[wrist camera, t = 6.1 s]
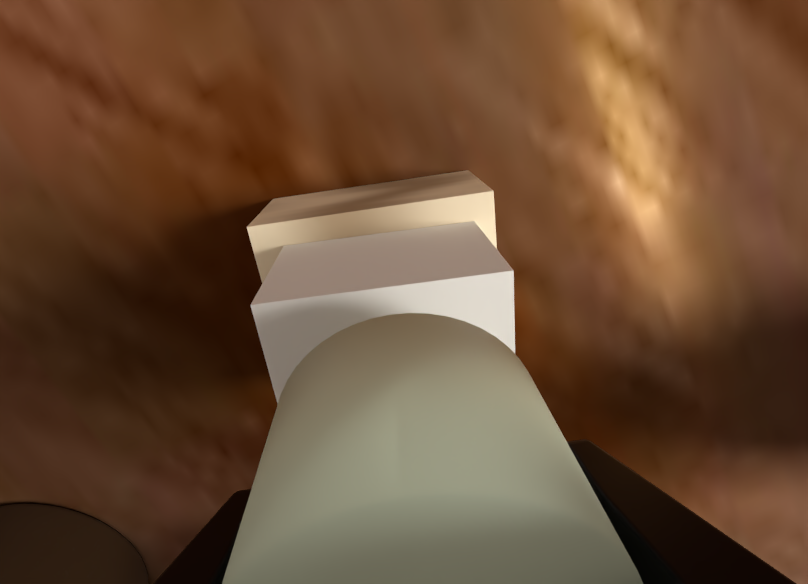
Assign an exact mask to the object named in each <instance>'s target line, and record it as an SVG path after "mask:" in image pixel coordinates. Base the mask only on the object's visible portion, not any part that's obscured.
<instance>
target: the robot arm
mask: <svg viewBox="0 0 808 584" xmlns="http://www.w3.org/2000/svg"><path fill="white" fill-rule="evenodd" d="M567 443H568V445H569V447H570V449H571V451H572V452H573V454H574V456H575V458H576V460H577V462H578V463H579V465H580V467H581V469H582V471H583V472H584V474H585V476H586V478H587V480H588V482H589V483H590V485H591V487H592V489H593V491H594V492H595V494H596V496H597V498H598V500H599V502H600V503H601V505H602V507H603V509H604V511H605V512H606V514H607V516H608V518H609V520H610V522H611V523H612V525H613V527H614V529H615V531H616V532H617V534H618V536H619V538H620V540H621V542H622V543H623V545H624V547H625V549H626V551H627V553H628V554H629V556H630V558H631V560H632V562H633V563H634V565H635V567H636V569H637V571H638V573H639V575H640V577H641V580H642V582H643V584H796V583H795V582H793V581H792V580H790V579H789V578H787V577H786V576H785V575H783V574H782V573H780V572H779V571H777V570H776V569H774V568H773V567H772V566H770V565H769V564H767V563H766V562H764V561H763V560H761V559H760V558H759V557H757V556H756V555H754V554H753V553H751V552H750V551H748V550H747V549H746V548H744V547H743V546H741V545H740V544H738V543H737V542H735V541H734V540H733V539H731V538H730V537H728V536H727V535H725V534H724V533H722V532H721V531H720V530H718V529H717V528H715V527H714V526H712V525H711V524H709V523H708V522H707V521H705V520H704V519H702V518H701V517H699V516H698V515H696V514H695V513H694V512H692V511H691V510H689V509H688V508H686V507H685V506H683V505H682V504H681V503H679V502H678V501H676V500H675V499H673V498H672V497H670V496H669V495H668V494H666V493H665V492H663V491H662V490H660V489H659V488H657V487H656V486H655V485H653V484H652V483H650V482H649V481H647V480H646V479H644V478H643V477H642V476H640V475H639V474H637V473H636V472H634V471H633V470H631V469H630V468H629V467H627V466H626V465H624V464H623V463H621V462H620V461H618V460H617V459H616V458H614V457H613V456H611V455H610V454H608V453H607V452H605V451H604V450H603V449H601V448H600V447H598V446H597V445H595V444H594V443H592V442H591V441H589V440H586V439H582V440H575V441H568V442H567ZM250 492H251V489H248V490H241V491H237V492H236V493H234V494H233V495H232V496H231V497H230V498H229V500H228V501H227V502H226V503H225V504H224V505H223V506H222V507H221V509H220V510H219V511H218V512H217V513H216V514H215V515H214V516H213V518H212V519H211V520H210V521H209V522H208V523H207V524H206V525H205V527H204V528H203V529H202V530H201V531H200V532H199V533H198V534H197V535H196V537H195V538H194V539H193V540H192V541H191V542H190V543H189V544H188V546H187V547H186V548H185V549H184V550H183V551H182V552H181V553H180V555H179V556H178V557H177V558H176V559H175V560H174V561H173V562H172V564H171V565H170V566H169V567H168V568H167V569H166V570H165V571H164V573H163V574H162V575H161V576H160V577H159V578H158V579H157V580H156V582H155V583H154V584H222V582H223V579H224V575H225V572H226V569H227V566H228V563H229V559H230V556H231V553H232V550H233V546H234V543H235V540H236V537H237V534H238V530H239V527H240V524H241V521H242V518H243V514H244V511H245V508H246V505H247V502H248V498H249V495H250Z"/></svg>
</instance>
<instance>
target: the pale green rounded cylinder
mask: <svg viewBox="0 0 808 584" xmlns="http://www.w3.org/2000/svg"><path fill="white" fill-rule="evenodd" d="M222 584H643V582H642V580H641V577H640V575H639V573H638V571H637V569H636V567H635V565H634V563H633V562H632V560H631V558H630V556H629V554H628V553H627V551H626V549H625V547H624V545H623V543H622V542H621V540H620V538H619V536H618V534H617V532H616V531H615V529H614V527H613V525H612V523H611V522H610V520H609V518H608V516H607V514H606V512H605V511H604V509H603V507H602V505H601V503H600V502H599V500H598V498H597V496H596V494H595V492H594V491H593V489H592V487H591V485H590V483H589V482H588V480H587V478H586V476H585V474H584V472H583V471H582V469H581V467H580V465H579V463H578V462H577V460H576V458H575V456H574V454H573V452H572V451H571V449H570V447H569V445H568V443H567V441H566V440H565V438H564V436H563V434H562V432H561V431H560V429H559V427H558V425H557V423H556V421H555V420H554V418H553V416H552V414H551V412H550V411H549V409H548V407H547V405H546V403H545V401H544V400H543V398H542V396H541V394H540V392H539V391H538V389H537V387H536V385H535V383H534V381H533V380H532V378H531V376H530V374H529V372H528V371H527V369H526V368H525V366H524V365H523V363H522V362H521V360H520V359H519V358H518V357H517V356H516V354H515V353H514V352H513V351H512V350H511V349H510V348H509V347H508V346H507V345H505V344H504V343H503V342H502V341H500V340H499V339H498V338H497V337H495V336H494V335H492V334H490V333H488V332H487V331H485V330H483V329H482V328H479V327H477V326H475V325H472V324H470V323H468V322H465V321H462V320H458V319H455V318H451V317H448V316H441V315H435V314H427V313H403V314H392V315H386V316H381V317H377V318H372V319H368V320H366V321H363V322H360V323H357V324H354V325H351V326H349V327H347V328H345V329H343V330H341V331H339V332H337V333H335V334H333V335H332V336H330V337H329V338H327V339H326V340H324V341H323V342H321V343H320V344H319V345H317V346H316V347H315V348H314V349H313V350H312V351H310V352H309V353H308V354H307V355H306V356H305V357H304V358H303V360H302V361H301V362H300V363H299V364H298V365H297V366H296V368H295V369H294V371H293V372H292V374H291V375H290V377H289V378H288V380H287V382H286V384H285V386H284V389H283V391H282V393H281V396H280V399H279V402H278V405H277V408H276V412H275V415H274V418H273V421H272V424H271V428H270V431H269V434H268V437H267V440H266V444H265V447H264V450H263V453H262V457H261V460H260V463H259V466H258V469H257V473H256V476H255V479H254V482H253V485H252V489H251V492H250V495H249V498H248V502H247V505H246V508H245V511H244V514H243V518H242V521H241V524H240V527H239V530H238V534H237V537H236V540H235V543H234V546H233V550H232V553H231V556H230V559H229V563H228V566H227V569H226V572H225V575H224V579H223V582H222Z"/></svg>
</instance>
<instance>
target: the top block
mask: <svg viewBox="0 0 808 584" xmlns="http://www.w3.org/2000/svg"><path fill="white" fill-rule="evenodd" d="M250 306H251V309H252V313H253V317H254V320H255V324H256V327H257V331H258V335H259V338H260V342H261V346H262V349H263V353H264V357H265V360H266V364H267V367H268V371H269V375H270V378H271V382H272V386H273V389H274V393H275V396H276V400H277V404H278V402H279V399H280V396H281V393H282V391H283V389H284V386H285V384H286V382H287V380H288V378H289V377H290V375H291V374H292V372H293V371H294V369H295V368H296V366H297V365H298V364H299V363H300V362H301V361H302V360H303V358H304V357H305V356H306V355H307V354H308V353H309V352H310V351H312V350H313V349H314V348H315V347H316V346H317V345H319V344H320V343H321V342H323V341H324V340H326V339H327V338H329V337H330V336H332V335H333V334H335V333H337V332H339V331H341V330H343V329H345V328H347V327H349V326H351V325H354V324H357V323H360V322H363V321H366V320H368V319H372V318H377V317H381V316H386V315H392V314H403V313H427V314H435V315H441V316H448V317H451V318H455V319H458V320H462V321H465V322H468V323H470V324H472V325H475V326H477V327H479V328H482V329H483V330H485V331H487V332H488V333H490V334H492V335H494V336H495V337H497V338H498V339H499V340H500V341H502V342H503V343H504V344H505V345H507V346H508V347H509V348H510V349H511V350H512V351H513V352H514V353H515V320H514V271H513V269H512V268H511V267H510V265H509V264H508V263H507V262H506V260H505V259H504V258H503V257H502V255H501V254H500V253H499V252H498V250H497V249H496V248H495V247H494V245H493V244H492V243H491V242H490V240H489V239H488V238H487V236H486V235H485V234H484V233H483V231H482V230H481V229H480V228H479V226H478V225H477V224H476V223H475V221H472V222H464V223H456V224H448V225H441V226H433V227H425V228H418V229H410V230H402V231H394V232H387V233H379V234H371V235H363V236H356V237H348V238H340V239H333V240H325V241H317V242H309V243H302V244H294V245H286V246H283V248H282V250H281V252H280V253H279V255H278V257H277V259H276V260H275V262H274V264H273V266H272V268H271V269H270V271H269V273H268V275H267V276H266V278H265V280H264V282H263V283H262V285H261V287H260V289H259V291H258V292H257V294H256V296H255V298H254V299H253V301H252V303H251V305H250Z"/></svg>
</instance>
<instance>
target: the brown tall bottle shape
mask: <svg viewBox="0 0 808 584" xmlns="http://www.w3.org/2000/svg"><path fill="white" fill-rule="evenodd" d="M0 584H148V574H147V570H146V567H145V564H144V562H143V560H142V558H141V556H140V555H139V553H138V552H137V550H136V549H135V548H134V547H133V546H132V544H131V543H130V542H129V541H128V540H127V539H126V538H124V537H123V536H122V535H121V534H120V533H118V532H117V531H116V530H114V529H113V528H111V527H109V526H108V525H106V524H104V523H103V522H101V521H99V520H97V519H94V518H92V517H90V516H87V515H85V514H82V513H79V512H76V511H73V510H69V509H65V508H61V507H56V506H50V505H42V504H12V505H4V506H0Z"/></svg>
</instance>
